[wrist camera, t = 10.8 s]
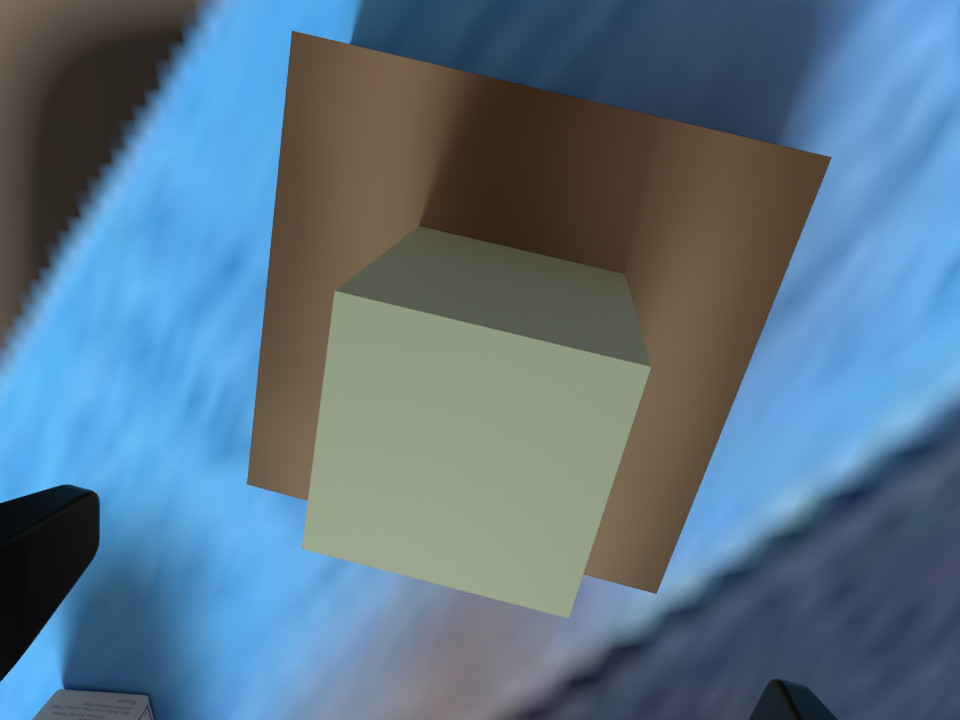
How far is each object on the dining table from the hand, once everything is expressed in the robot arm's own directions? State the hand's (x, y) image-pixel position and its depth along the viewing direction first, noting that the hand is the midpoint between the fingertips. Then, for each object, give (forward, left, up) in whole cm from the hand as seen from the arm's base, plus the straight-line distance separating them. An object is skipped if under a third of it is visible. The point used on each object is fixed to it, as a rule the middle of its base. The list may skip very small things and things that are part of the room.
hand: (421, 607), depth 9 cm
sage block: (0, 0, -9) cm, 9 cm away
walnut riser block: (0, 0, -13) cm, 13 cm away
